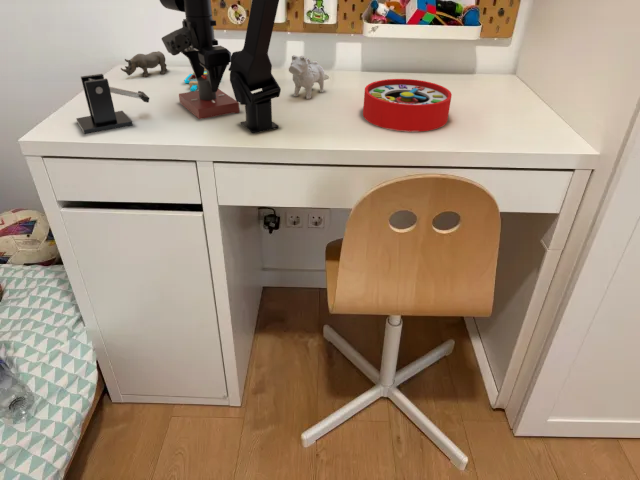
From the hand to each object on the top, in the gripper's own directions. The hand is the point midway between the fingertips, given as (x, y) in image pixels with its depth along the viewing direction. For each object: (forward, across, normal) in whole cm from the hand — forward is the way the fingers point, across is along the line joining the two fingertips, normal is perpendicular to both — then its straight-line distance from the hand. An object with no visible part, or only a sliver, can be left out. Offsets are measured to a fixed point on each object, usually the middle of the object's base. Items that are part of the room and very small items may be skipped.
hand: (206, 86), depth 116 cm
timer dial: (+3, 0, 0) cm, 3 cm away
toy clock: (+5, +28, +38) cm, 47 cm away
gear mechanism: (+5, -21, +7) cm, 23 cm away
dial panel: (+5, 0, 0) cm, 5 cm away
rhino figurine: (+5, -35, -5) cm, 36 cm away
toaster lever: (-1, -1, -20) cm, 20 cm away
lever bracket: (+5, -1, -24) cm, 25 cm away
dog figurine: (+5, +3, +26) cm, 27 cm away
